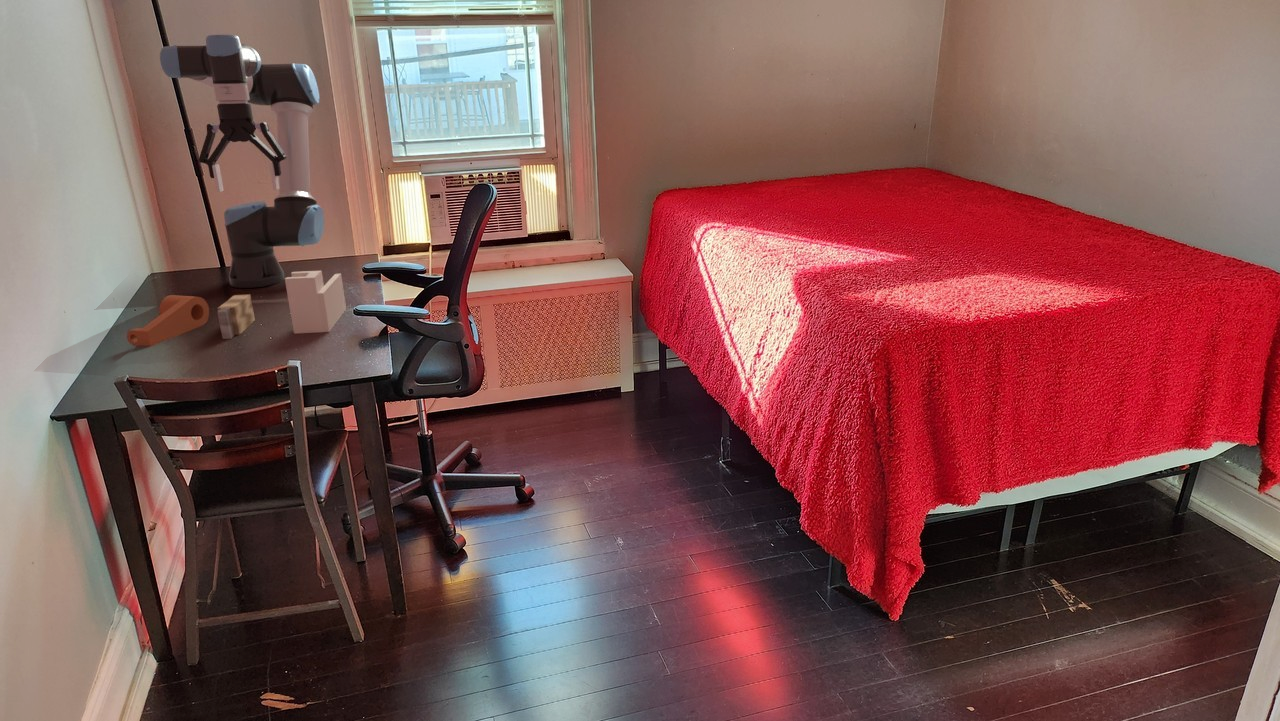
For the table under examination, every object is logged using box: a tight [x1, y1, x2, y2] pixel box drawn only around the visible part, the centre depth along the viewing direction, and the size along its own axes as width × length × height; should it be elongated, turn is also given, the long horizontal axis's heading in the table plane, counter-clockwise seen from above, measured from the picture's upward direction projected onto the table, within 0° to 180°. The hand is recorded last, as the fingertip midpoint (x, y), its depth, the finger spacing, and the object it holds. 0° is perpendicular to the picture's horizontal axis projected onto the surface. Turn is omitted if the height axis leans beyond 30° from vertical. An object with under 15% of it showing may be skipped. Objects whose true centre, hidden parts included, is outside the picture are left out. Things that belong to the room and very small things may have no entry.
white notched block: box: [284, 270, 347, 335], centre depth 215 cm, size 8×20×14 cm, turn 6°
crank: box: [126, 294, 210, 347], centre depth 209 cm, size 20×8×8 cm, turn 165°
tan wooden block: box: [217, 293, 256, 340], centre depth 211 cm, size 15×4×7 cm, turn 6°
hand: (248, 190), depth 211 cm, fingers open, 13 cm apart
